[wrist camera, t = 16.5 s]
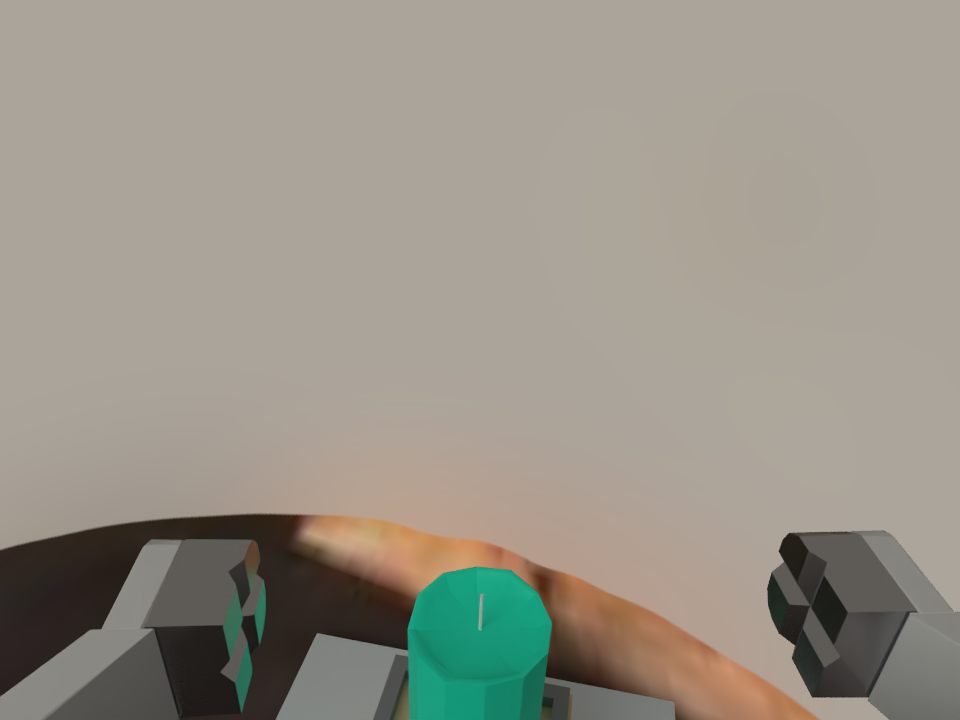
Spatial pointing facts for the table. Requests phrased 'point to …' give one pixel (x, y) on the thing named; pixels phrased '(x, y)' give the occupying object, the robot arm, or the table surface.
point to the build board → (368, 670)
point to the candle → (477, 648)
